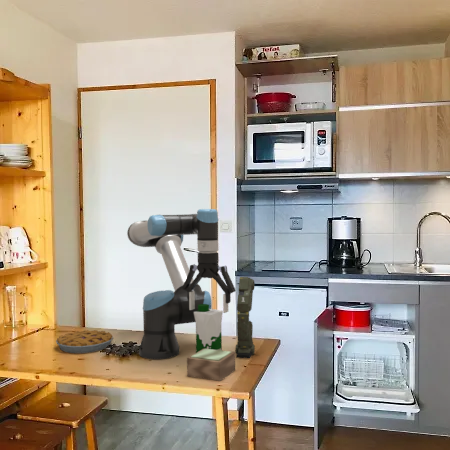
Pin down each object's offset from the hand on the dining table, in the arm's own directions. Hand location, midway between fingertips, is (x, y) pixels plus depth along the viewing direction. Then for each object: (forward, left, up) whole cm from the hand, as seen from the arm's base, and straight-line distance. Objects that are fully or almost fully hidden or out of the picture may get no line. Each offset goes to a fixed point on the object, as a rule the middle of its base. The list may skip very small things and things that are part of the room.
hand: (208, 310), depth 184 cm
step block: (+7, -12, -18) cm, 23 cm away
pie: (-54, -3, -19) cm, 57 cm away
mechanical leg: (+9, +13, -18) cm, 24 cm away
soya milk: (0, 0, -18) cm, 18 cm away
